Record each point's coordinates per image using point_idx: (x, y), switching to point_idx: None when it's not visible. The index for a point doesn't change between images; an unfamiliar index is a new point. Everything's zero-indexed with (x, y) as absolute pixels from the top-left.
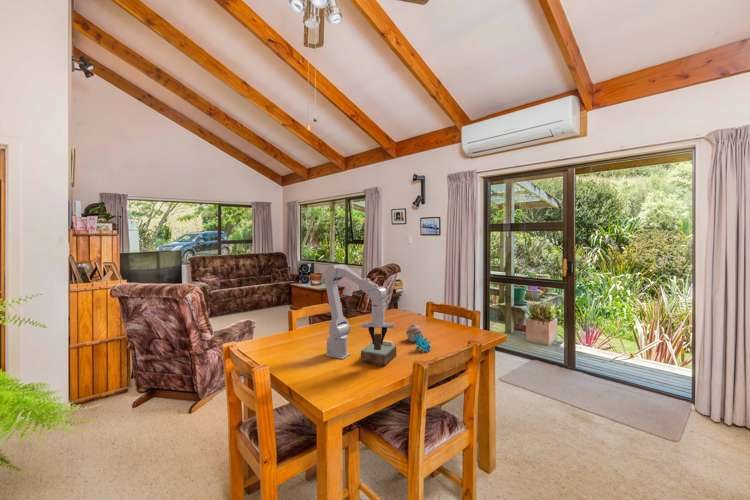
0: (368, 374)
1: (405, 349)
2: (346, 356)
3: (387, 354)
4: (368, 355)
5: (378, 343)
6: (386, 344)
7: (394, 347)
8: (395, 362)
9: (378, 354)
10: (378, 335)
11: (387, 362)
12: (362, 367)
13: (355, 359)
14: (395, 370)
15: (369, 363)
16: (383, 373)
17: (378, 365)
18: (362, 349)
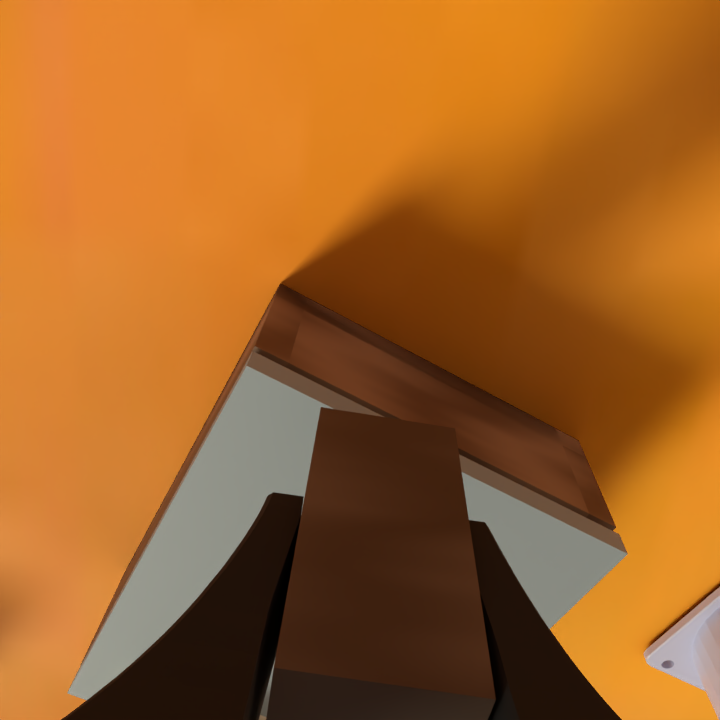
0: (565, 15)
1: (27, 699)
2: (710, 594)
3: None
4: (505, 459)
5: (362, 502)
6: None
7: (99, 633)
8: (134, 406)
9: (359, 409)
10: (353, 693)
11: (234, 370)
12: (593, 286)
13: (619, 523)
14: (135, 146)
15: (476, 388)
16: (322, 40)
17: (363, 327)
18: (590, 584)
